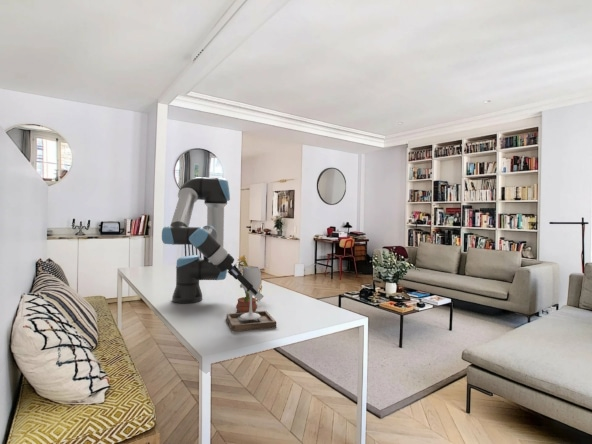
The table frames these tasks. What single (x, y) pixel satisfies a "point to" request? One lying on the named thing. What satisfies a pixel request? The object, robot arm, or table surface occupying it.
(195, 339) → the table surface
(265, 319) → the wooden tray
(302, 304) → the table surface
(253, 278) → the wineglass
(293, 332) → the table surface
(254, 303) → the potted flower
